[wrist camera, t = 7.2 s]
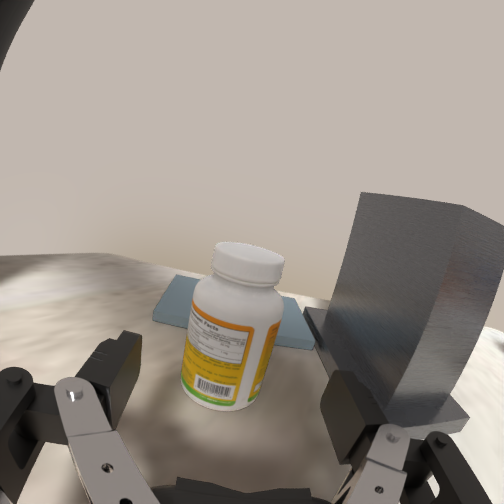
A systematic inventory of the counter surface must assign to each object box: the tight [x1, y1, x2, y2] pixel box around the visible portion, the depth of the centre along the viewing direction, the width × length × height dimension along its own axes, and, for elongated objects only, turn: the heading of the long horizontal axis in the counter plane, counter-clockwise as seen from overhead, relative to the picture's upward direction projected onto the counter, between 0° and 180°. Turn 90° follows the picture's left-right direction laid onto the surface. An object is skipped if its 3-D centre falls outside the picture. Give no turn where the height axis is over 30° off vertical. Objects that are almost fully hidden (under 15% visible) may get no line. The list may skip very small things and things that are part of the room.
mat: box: [153, 275, 315, 350], centre depth 32 cm, size 15×11×1 cm
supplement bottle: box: [181, 242, 285, 411], centre depth 18 cm, size 5×5×10 cm
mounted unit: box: [303, 192, 504, 439], centre depth 24 cm, size 10×20×16 cm, turn 3°
